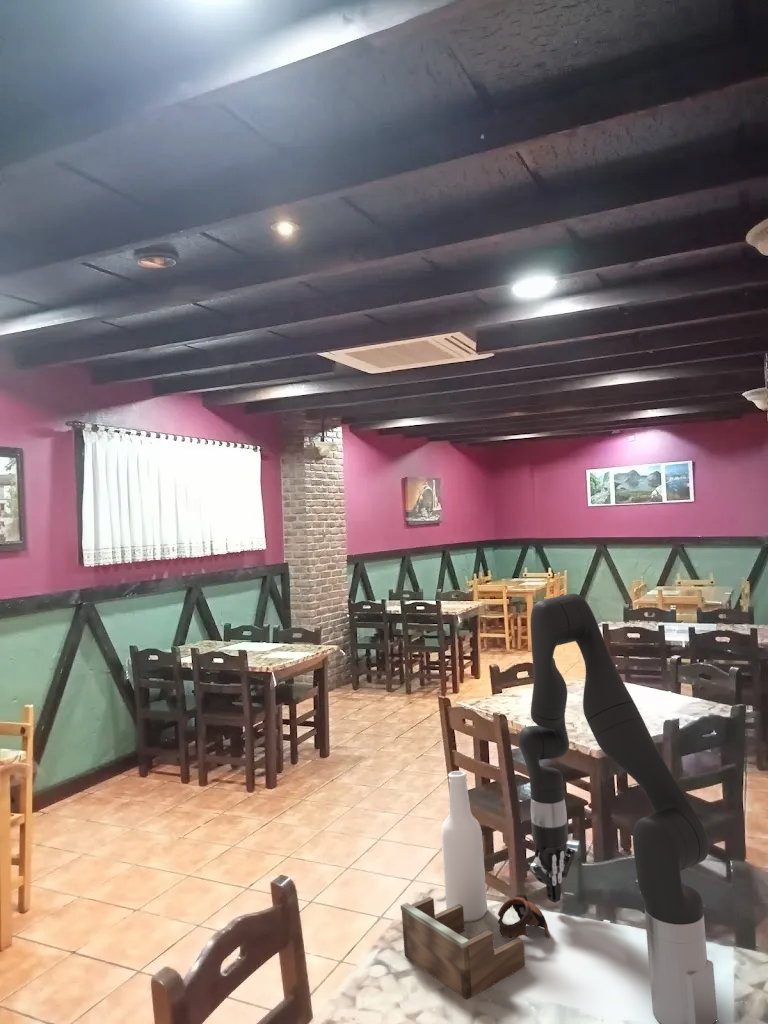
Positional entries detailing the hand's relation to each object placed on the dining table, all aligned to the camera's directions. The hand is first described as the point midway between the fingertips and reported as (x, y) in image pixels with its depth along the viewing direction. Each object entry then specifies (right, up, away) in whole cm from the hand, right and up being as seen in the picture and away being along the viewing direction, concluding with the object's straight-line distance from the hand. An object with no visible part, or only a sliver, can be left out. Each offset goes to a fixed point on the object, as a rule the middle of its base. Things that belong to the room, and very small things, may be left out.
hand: (554, 900), depth 158 cm
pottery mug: (-8, -3, -7) cm, 11 cm away
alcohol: (-18, -4, +2) cm, 19 cm away
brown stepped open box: (-21, -4, -16) cm, 27 cm away
